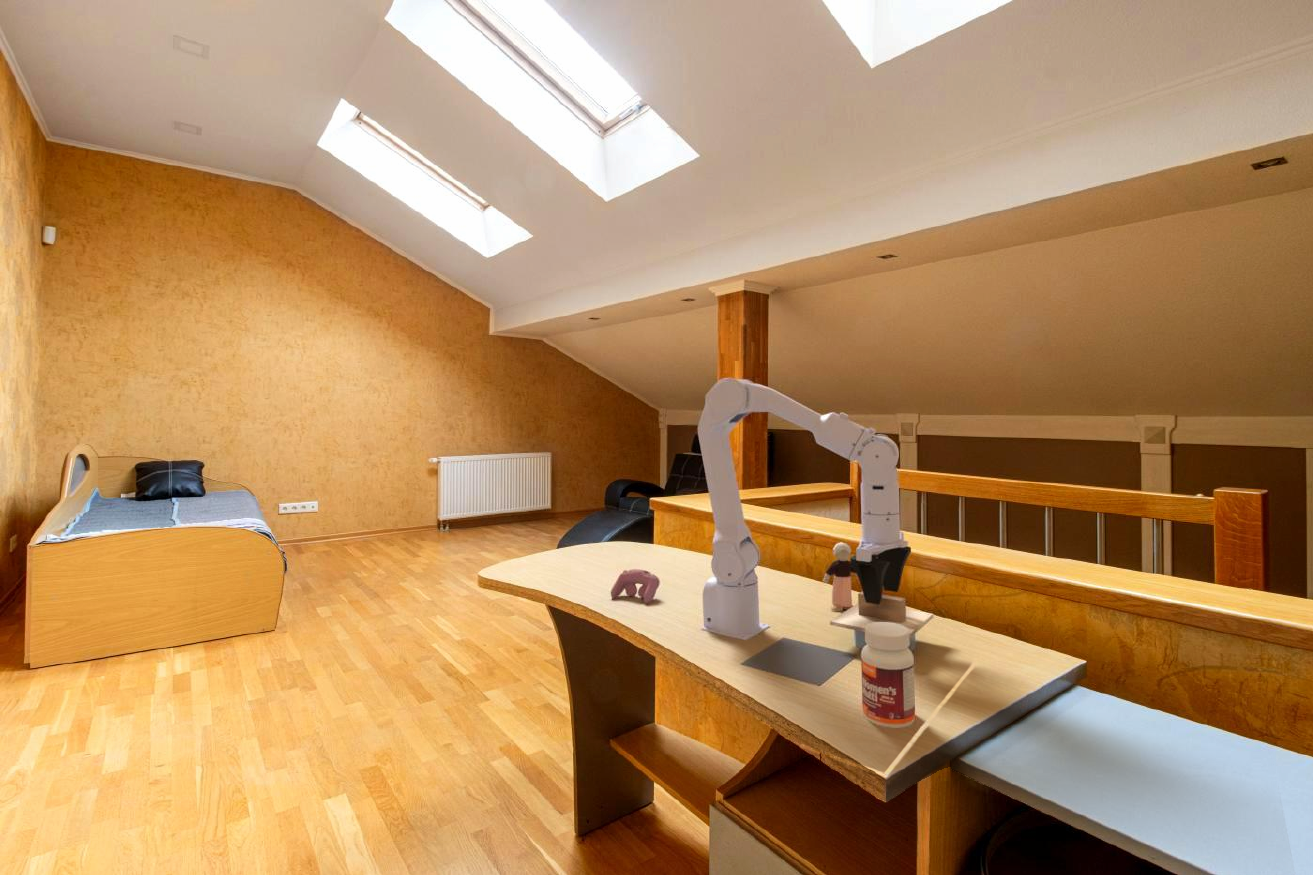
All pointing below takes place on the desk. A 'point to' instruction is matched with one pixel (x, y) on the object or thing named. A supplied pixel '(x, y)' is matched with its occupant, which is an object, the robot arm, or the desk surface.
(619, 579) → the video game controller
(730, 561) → the robot arm
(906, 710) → the pill bottle
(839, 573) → the grandmother figurine
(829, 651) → the mat
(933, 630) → the desk surface
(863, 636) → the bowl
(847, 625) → the lid
